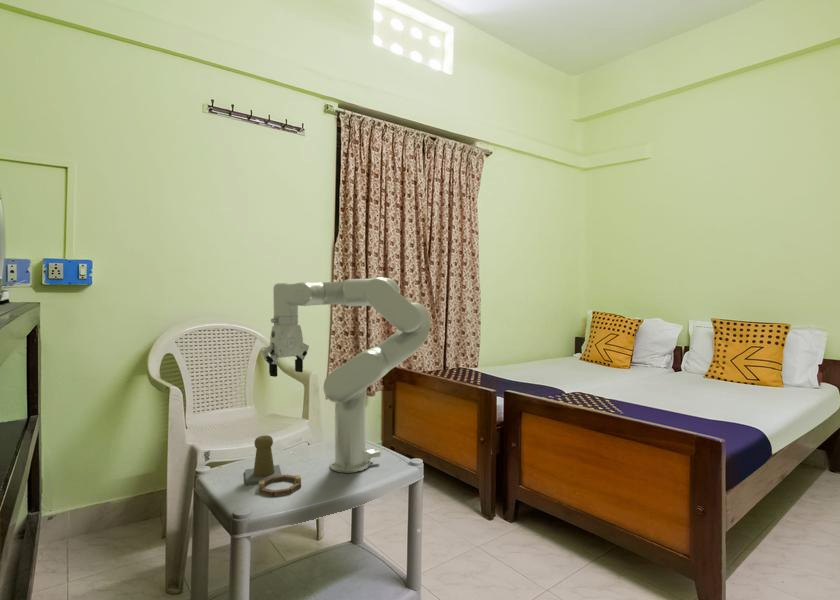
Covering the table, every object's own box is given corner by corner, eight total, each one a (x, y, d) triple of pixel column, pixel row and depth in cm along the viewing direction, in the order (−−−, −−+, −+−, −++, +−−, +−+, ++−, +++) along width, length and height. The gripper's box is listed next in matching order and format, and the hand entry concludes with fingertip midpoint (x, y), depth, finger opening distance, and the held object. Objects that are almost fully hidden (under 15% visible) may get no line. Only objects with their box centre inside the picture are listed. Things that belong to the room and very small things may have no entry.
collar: (298, 476, 136) (298, 469, 136) (303, 491, 126) (303, 483, 126) (258, 482, 132) (258, 475, 132) (260, 499, 122) (260, 490, 122)
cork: (274, 475, 135) (274, 438, 134) (253, 478, 133) (252, 440, 133) (274, 468, 140) (274, 432, 140) (253, 470, 139) (253, 434, 138)
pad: (279, 467, 143) (279, 464, 143) (282, 479, 134) (282, 477, 134) (244, 472, 139) (244, 469, 139) (245, 485, 130) (245, 482, 130)
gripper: (269, 323, 138) (269, 379, 139) (314, 320, 152) (315, 371, 153) (255, 322, 143) (256, 376, 144) (300, 319, 157) (301, 368, 157)
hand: (286, 373), depth 148 cm, fingers open, 9 cm apart
